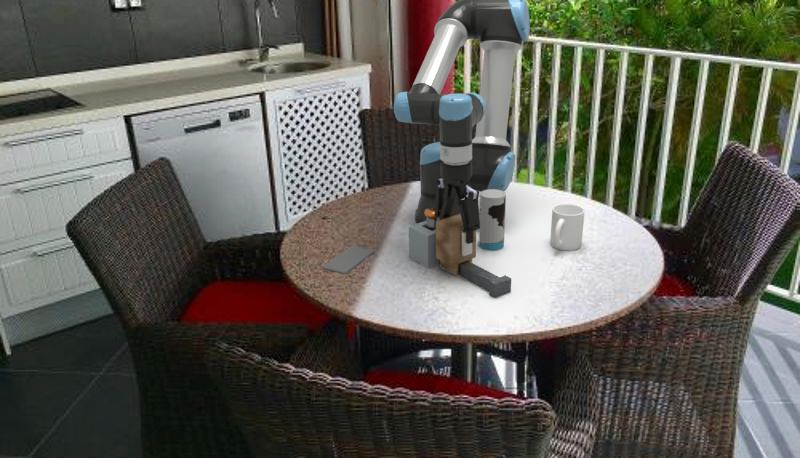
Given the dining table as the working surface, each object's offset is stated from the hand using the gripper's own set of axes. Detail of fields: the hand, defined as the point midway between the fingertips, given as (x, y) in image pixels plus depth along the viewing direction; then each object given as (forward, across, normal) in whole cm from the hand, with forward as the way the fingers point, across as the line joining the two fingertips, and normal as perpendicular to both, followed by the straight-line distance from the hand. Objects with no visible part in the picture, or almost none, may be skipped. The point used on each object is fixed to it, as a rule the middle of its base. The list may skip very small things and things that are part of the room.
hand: (457, 249), depth 170 cm
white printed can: (+6, -6, +17) cm, 19 cm away
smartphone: (+6, -23, -18) cm, 29 cm away
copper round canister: (-1, -9, 0) cm, 9 cm away
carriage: (+6, 0, 0) cm, 6 cm away
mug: (+6, +8, +31) cm, 33 cm away
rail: (+6, +6, 0) cm, 8 cm away
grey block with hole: (+6, -10, 0) cm, 11 cm away
